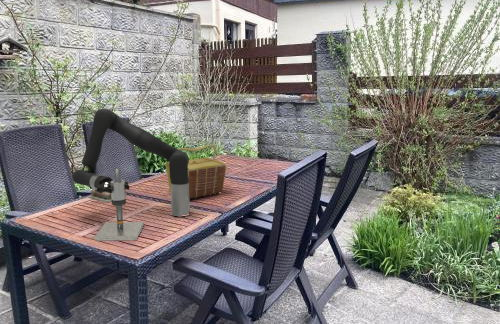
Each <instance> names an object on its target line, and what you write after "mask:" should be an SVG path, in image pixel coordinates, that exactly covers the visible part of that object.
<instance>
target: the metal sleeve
mask: <svg viewBox="0 0 500 324" xmlns="http://www.w3.org/2000/svg"><path fill="white" fill-rule="evenodd" d="M125 181H126V180H124V179H121V182H119V183H115V179H114V180H113V181H111V188H112V193H111V199H112V200H114V201H120V200H125V199H127V196H126V191H127V190H126V189H125Z"/></svg>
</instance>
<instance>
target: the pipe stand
mask: <svg viewBox="0 0 500 324" xmlns="http://www.w3.org/2000/svg"><path fill="white" fill-rule="evenodd" d="M113 174H114V175H113V176H114V180H115V183H119V182H121V180H122V178H121V175H122V174H121V168H114V169H113ZM115 209H116V221H115V222H114V221H113V222H105V223H104V224H103V225H102V227H101V228H100V229H99V230H98V232H97V233H96V234H95V235H94V241H95V242H98V241H99V242H102V241H104V242H107V241H108V242H109V241H114V242H116V241H137V240H138V239H137V238H139V237H140V235H141V233H140V232H142V231H141V230H143V229H144V227H145V222H144V221H124V217H123V215H124V214H123V205H121V206H115ZM143 226H144V227H143ZM142 228H143V229H142ZM139 234H140V235H139ZM138 236H139V237H138Z"/></svg>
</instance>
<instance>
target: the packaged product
mask: <svg viewBox="0 0 500 324" xmlns="http://www.w3.org/2000/svg"><path fill="white" fill-rule="evenodd" d="M88 199H92V200H95V201H98V202H101V203H106V204H108V203H112V199H111V194H110V193H107V192H106V193H104V192H102V193H99V192H96V191H95V189H92V190H90V195H88Z"/></svg>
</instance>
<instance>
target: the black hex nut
mask: <svg viewBox="0 0 500 324" xmlns="http://www.w3.org/2000/svg"><path fill="white" fill-rule="evenodd" d="M126 203H127V198H125V200H120V201H114V200H112V202H111V205H112V206H115V207H116V206H121V205H122V206H124V205H126Z"/></svg>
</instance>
